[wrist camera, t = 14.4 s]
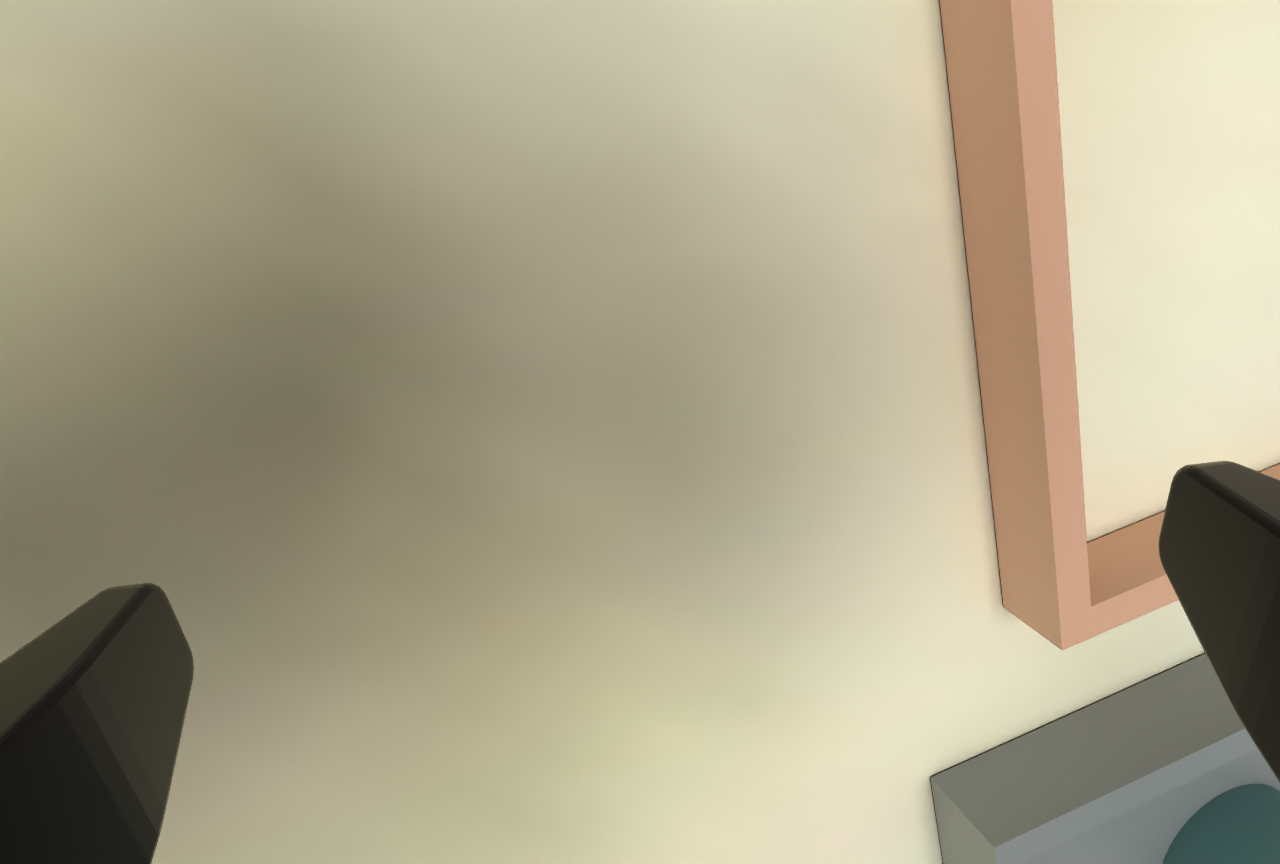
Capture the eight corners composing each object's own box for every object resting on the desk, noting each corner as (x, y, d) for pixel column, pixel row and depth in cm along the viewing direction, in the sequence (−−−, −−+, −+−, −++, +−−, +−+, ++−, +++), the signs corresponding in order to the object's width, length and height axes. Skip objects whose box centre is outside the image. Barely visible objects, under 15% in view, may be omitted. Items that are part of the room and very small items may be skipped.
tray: (977, 1090, 29) (1034, 1175, 26) (930, 777, 24) (994, 848, 22) (1399, 866, 32) (1482, 924, 30) (1428, 552, 27) (1529, 593, 25)
